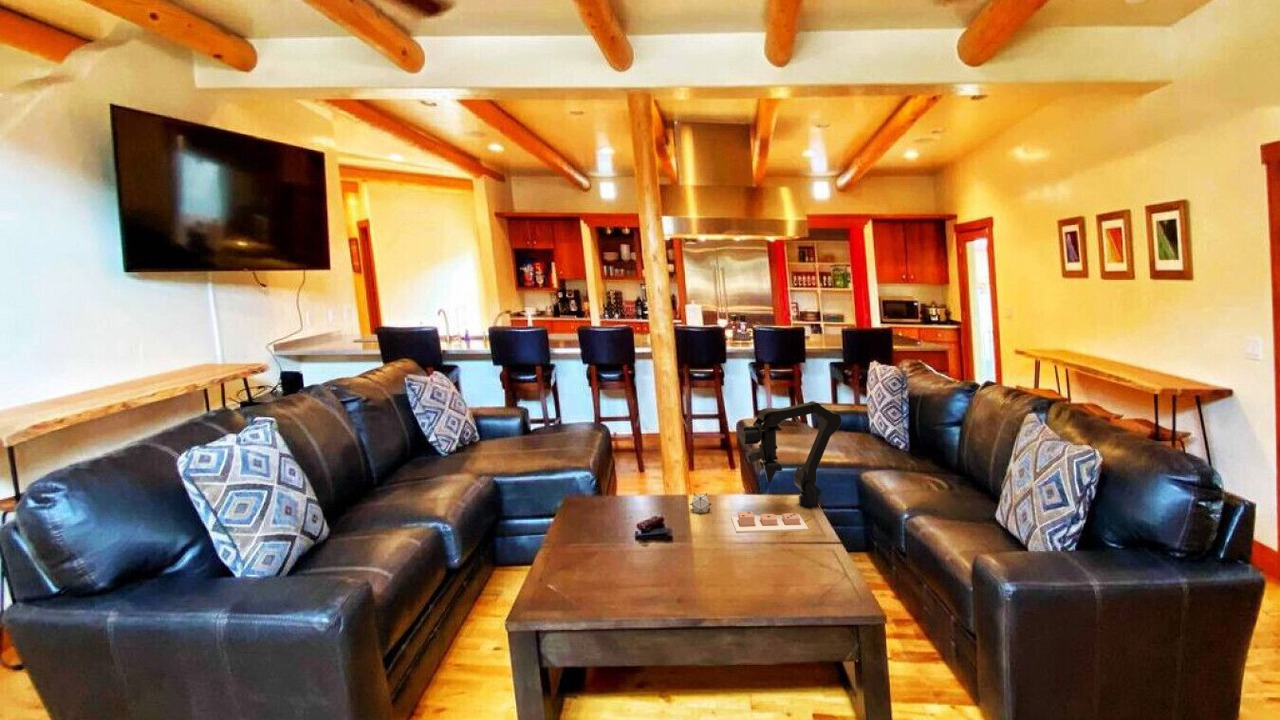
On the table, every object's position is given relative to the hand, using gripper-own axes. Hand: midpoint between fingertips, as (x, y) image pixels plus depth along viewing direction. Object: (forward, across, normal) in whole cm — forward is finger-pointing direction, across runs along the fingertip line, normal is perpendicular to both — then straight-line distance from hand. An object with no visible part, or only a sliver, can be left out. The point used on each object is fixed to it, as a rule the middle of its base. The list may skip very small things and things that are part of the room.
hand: (769, 482), depth 229 cm
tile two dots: (+11, +14, -11) cm, 21 cm away
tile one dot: (+12, +14, -3) cm, 19 cm away
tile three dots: (+12, +14, +5) cm, 19 cm away
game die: (+12, -1, -26) cm, 29 cm away
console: (+12, +14, -3) cm, 19 cm away
